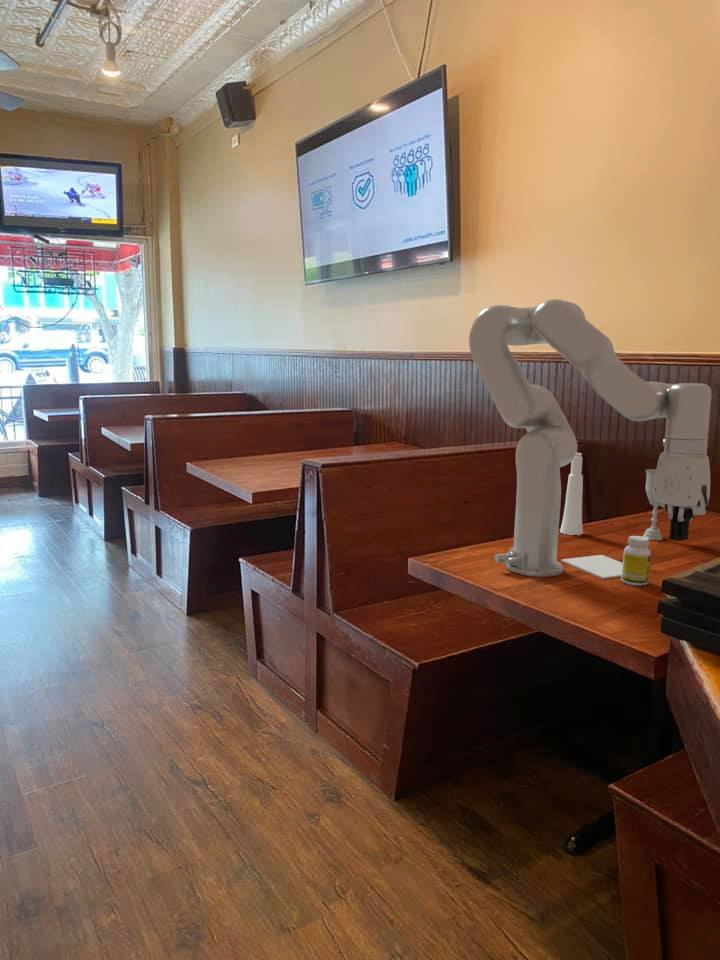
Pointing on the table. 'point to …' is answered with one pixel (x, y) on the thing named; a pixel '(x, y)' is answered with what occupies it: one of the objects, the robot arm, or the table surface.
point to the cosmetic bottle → (574, 500)
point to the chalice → (653, 531)
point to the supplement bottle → (636, 561)
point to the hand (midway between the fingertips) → (678, 539)
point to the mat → (597, 566)
